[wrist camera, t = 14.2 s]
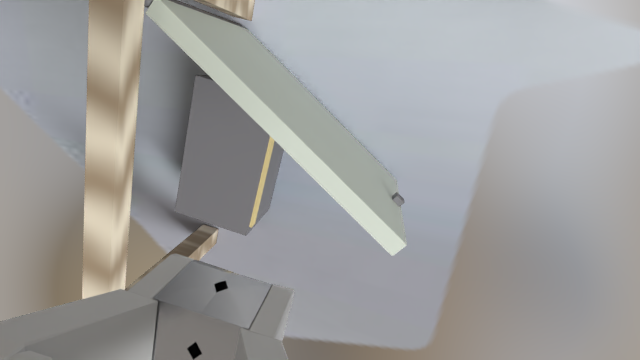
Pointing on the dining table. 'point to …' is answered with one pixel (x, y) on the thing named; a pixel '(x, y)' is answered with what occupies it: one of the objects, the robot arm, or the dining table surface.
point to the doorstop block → (225, 162)
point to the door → (288, 116)
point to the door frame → (121, 141)
